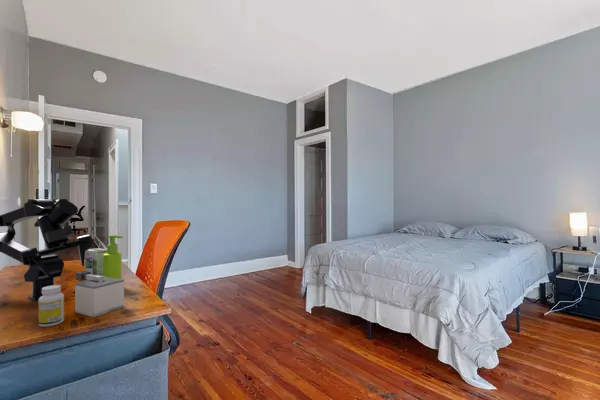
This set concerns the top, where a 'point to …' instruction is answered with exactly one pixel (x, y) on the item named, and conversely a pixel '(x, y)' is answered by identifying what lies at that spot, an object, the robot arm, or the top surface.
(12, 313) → the top surface
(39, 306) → the supplement bottle
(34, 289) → the robot arm
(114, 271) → the soap dispenser
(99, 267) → the syrup box
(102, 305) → the slotted grey box
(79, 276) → the plunger
